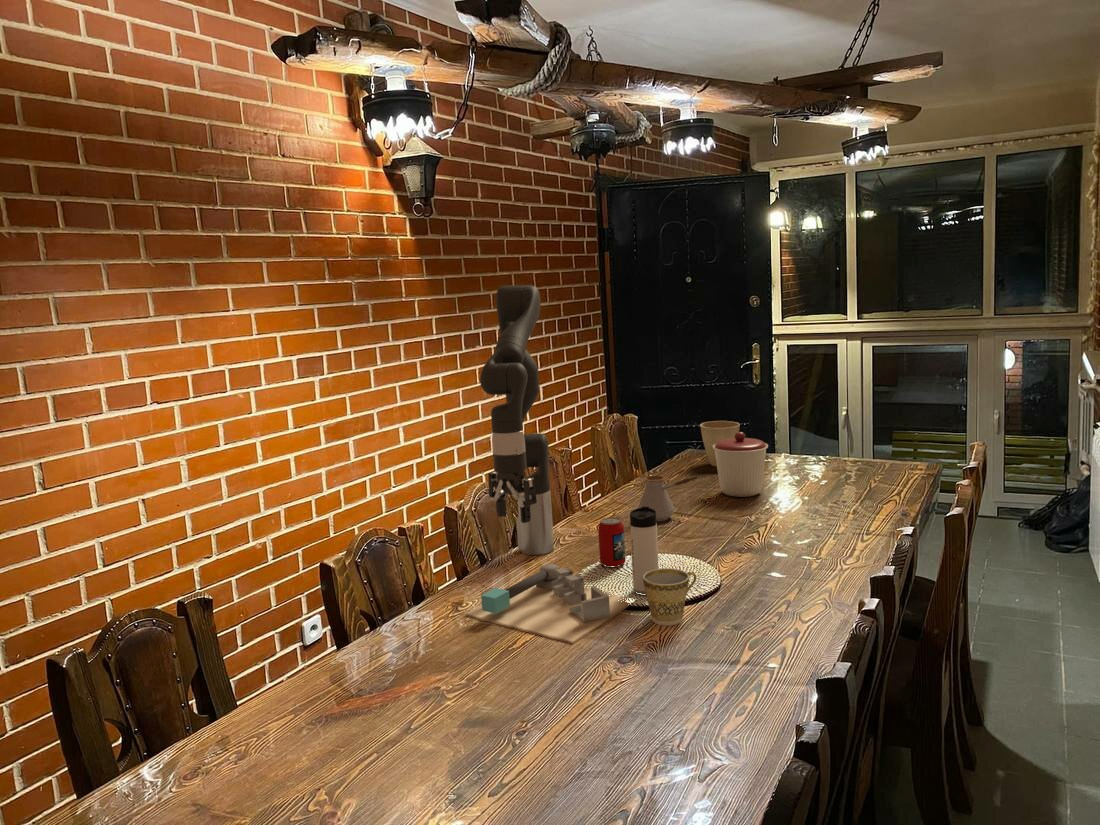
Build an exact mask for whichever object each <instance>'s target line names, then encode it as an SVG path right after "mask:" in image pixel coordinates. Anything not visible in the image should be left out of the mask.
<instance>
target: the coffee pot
mask: <svg viewBox="0 0 1100 825" xmlns="http://www.w3.org/2000/svg"><path fill="white" fill-rule="evenodd" d="M699 478H700V481H699ZM643 480H644V481H645V483H646V485H645V488H644V491H643V493H642V496H641V498H640V501H639V503H638V507H637V509H638V508H642V506H644V507H649V508H651V509H654V510H655V511H656V522H665V521H667V520H669V519H670V517H672V516H673V515H674V512H675V509H676V508H675V505H674V504H673V502H672V499H671V498H670V496H669V494H668V492H667V490H668V489H670V488H673V487H677V486H681V485H685V484H687V483H689V482H691V481H695V480H697V482H698V483H700V482H702V477H701V476H700V475H695V476H691V477H690V478H689V477H688V478H684V479H681V480H679V481H677V482H674V483H672V484H669V485H666V486H665V485H664V481H665V480H666V477H665V476H663V475H648V476H646V477H644V478H643Z"/></svg>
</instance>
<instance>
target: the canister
mask: <svg viewBox="0 0 1100 825" xmlns="http://www.w3.org/2000/svg"><path fill="white" fill-rule="evenodd" d="M734 437H735V438H731V439H725V440H721V441H719V442H717V443H716V444H714V445H713V449H714V450H715V456H716V463H717V466H716V468H717V476H718V483H719V487H720V490H721V491H722V493H723V494H724V495H726V496H729V497H733V498H734V497H736V498H746V497H753V496H756V495H758V494H760V492H761V491H762V488H763V483H764V475H765V466H766V456H767V455H766V454H767V449H768V448H769V444H768V443H766V442H764V441H763V440H762V439H761V440H760V439H757V438H751V437H750V438H749V437H746V434H745V433H744V432H742V431H739V432H737V433H735V435H734Z"/></svg>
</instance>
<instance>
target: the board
mask: <svg viewBox="0 0 1100 825" xmlns="http://www.w3.org/2000/svg"><path fill="white" fill-rule="evenodd" d="M561 584H564V576H562V577H560V576H559V577H558V578H556V579H552V580H544V581H542V582H540V583H538V584H537V585H535V586H533V587H531V588H529V589H527V590H526V591H524V592H522V593H520V594H518V595H516V596H515V597H513V598H511V599H510V606H509V607H507V608H505V609H504V610H502V611H500V612H498V613H496V614H495V613H491V612H487V611H483V610H482V604H481V605H480V606H478V607H476V608H474V609H472V610H470V611H468V612H466V613H465V617H469V618H473V619H477V620H481V621H484V622H489V623H492V624H496V625H499V626H503V627H508V628H511V629H514V630H519V631H523V632H525V633H526V632H527V633H530V634H533V635H538V636H540V637H541V636H542V637H544V638H546V637H547V638H550V639H553V640H555V641H556V640H558V641H561V642H565V643H568V644H572V645H573V644H576V642H578V641H579V640H581V639H582V638H584V637H585V636H587V635H588V634H590V633H591V632H593V631H594V630H595V629H597V628H598V627H600V626H602V625H603V624H604V623H606V622H608V621H610V619H612V618H613V617H615V616H617V615H618V614H619V613H620V612H622V611H624V610H626V609H627V608H628V607H629V606H628V604H630V603H627V602H625V601H626V600H627V597H629V598H630V597H631V596H627V597H625V596H626V595H621V596H619V597H618V595H619V594H617V595H615V594H616V593H612V592H607V591H606V592H607V595H608V596H609V595H610V596H609V606H610V618H606V619H601V620H597V621H593V622H589V623H585V624H584V623H583V622H581V621H580V620H579V619H578V618H576V617H575V616H574V615H573V614H572V613H570V608H571V607H575V606H580V605H581V603H578V604H574V605H568V604H567V603H566V602H564V597H561V598H559V597H557V596H556V595H555V594H554V588H553V586H557V585H561ZM584 592H585V593H586V597H587V600H589V599H591V588H589V587H584ZM609 593H610V594H609ZM611 593H612V594H613V595H612V594H611ZM605 594H606V593H605ZM623 596H624V597H623ZM618 598H619V599H618ZM623 598H624V599H623ZM625 598H626V600H625ZM631 598H633V597H631ZM620 599H622V600H620ZM618 600H619V601H618ZM623 600H624V601H623ZM628 600H629V599H628ZM621 601H622V602H621Z"/></svg>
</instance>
